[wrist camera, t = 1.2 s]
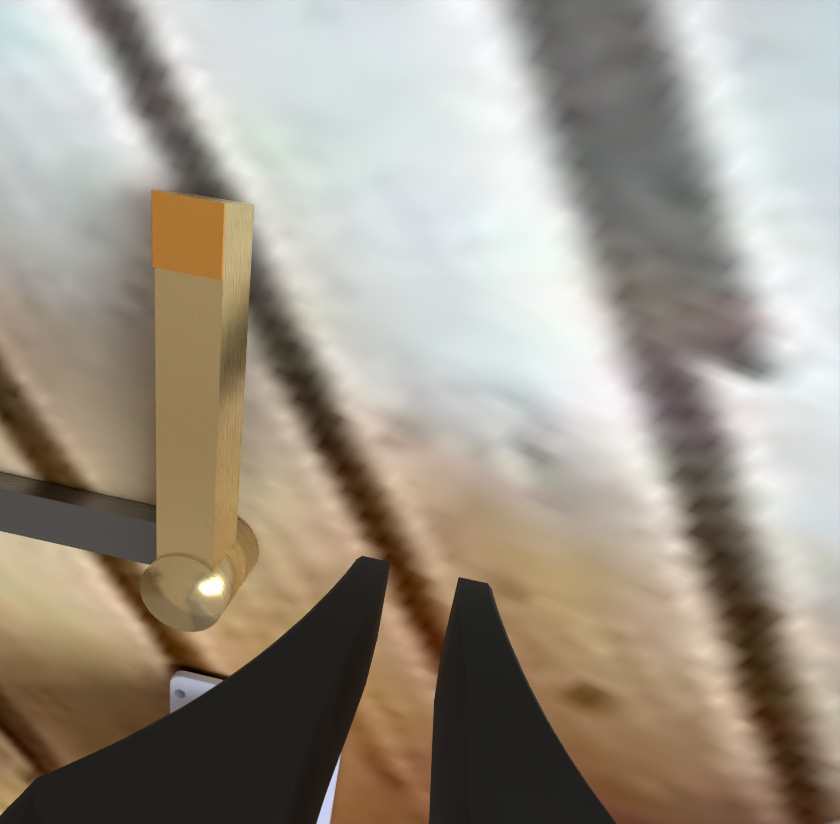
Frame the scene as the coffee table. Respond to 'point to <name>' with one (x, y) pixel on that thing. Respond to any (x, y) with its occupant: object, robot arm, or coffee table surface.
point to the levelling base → (78, 518)
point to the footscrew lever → (199, 406)
